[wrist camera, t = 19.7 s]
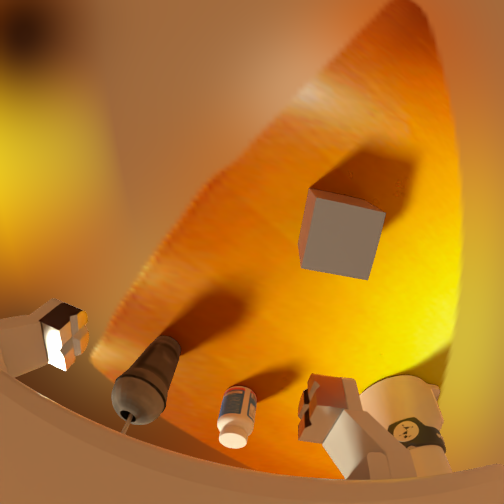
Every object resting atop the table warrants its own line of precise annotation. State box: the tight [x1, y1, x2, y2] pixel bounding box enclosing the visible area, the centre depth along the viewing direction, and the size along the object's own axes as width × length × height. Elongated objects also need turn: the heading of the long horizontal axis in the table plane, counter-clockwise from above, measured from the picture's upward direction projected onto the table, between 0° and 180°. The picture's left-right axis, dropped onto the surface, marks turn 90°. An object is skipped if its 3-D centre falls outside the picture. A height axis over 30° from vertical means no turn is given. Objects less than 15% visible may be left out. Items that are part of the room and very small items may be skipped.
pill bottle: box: [217, 386, 257, 448], centre depth 42 cm, size 6×5×10 cm
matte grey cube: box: [298, 188, 386, 280], centre depth 33 cm, size 7×7×9 cm
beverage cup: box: [112, 336, 181, 434], centre depth 36 cm, size 7×7×20 cm
